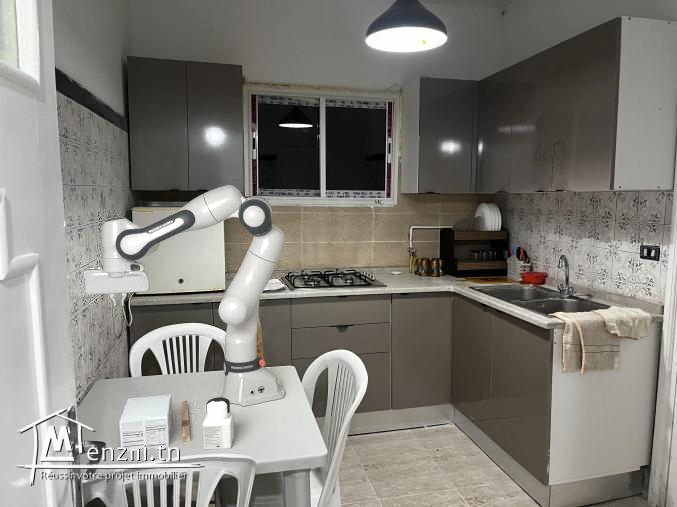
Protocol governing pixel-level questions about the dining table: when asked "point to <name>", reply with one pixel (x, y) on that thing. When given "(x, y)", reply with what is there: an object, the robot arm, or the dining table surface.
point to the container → (218, 424)
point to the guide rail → (185, 421)
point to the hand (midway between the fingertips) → (119, 305)
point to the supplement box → (146, 422)
